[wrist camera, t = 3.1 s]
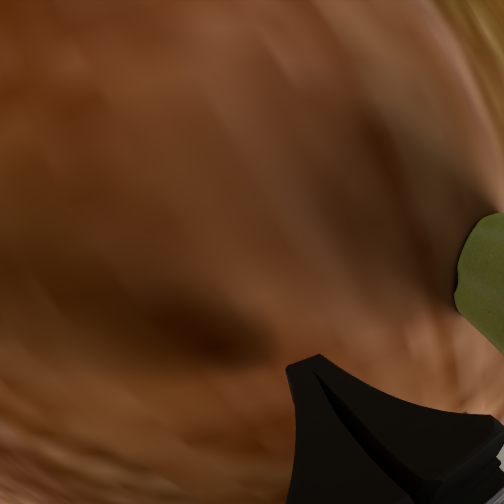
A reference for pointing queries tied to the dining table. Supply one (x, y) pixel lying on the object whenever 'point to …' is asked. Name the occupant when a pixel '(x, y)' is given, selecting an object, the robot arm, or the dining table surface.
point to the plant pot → (483, 279)
